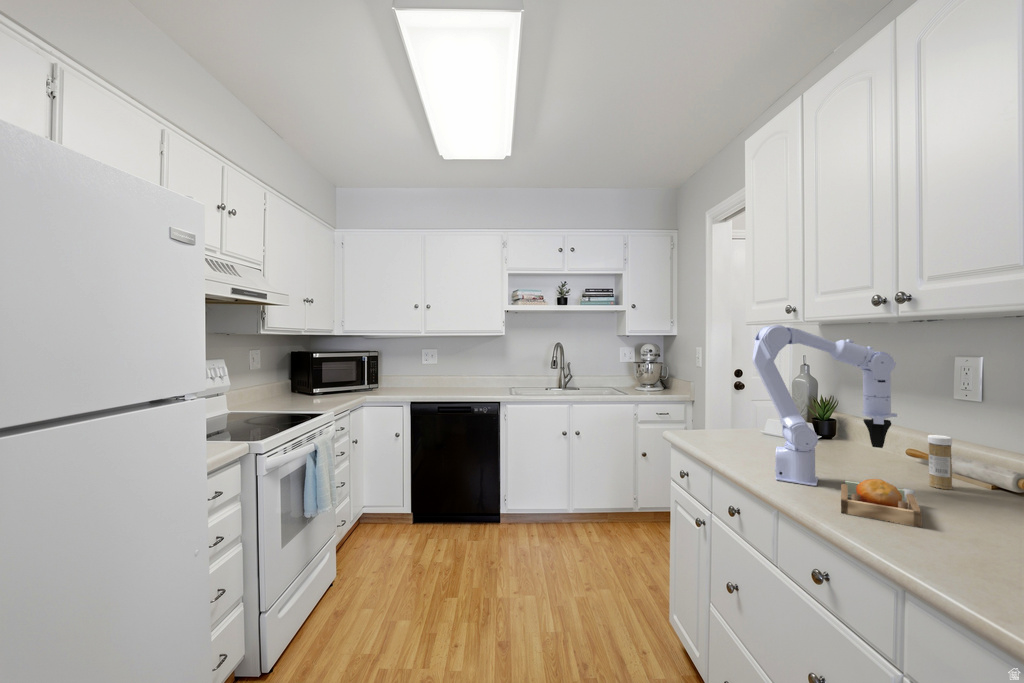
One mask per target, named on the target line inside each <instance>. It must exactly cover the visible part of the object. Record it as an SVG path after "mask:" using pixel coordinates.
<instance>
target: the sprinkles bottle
mask: <svg viewBox="0 0 1024 683" xmlns="http://www.w3.org/2000/svg"><path fill="white" fill-rule="evenodd" d="M927 443H928V474H929V476H928V477H929V481H928V485H929V487H932V488H935V487H936V488H935V489H939V488H941V489H940V490H947V489H949V490H953V464H952V463H953V462H952V458H953V457H952V446H953V438H952V437H951V436H948V435H942V434H941V435H940V434H928V435H927Z"/></svg>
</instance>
